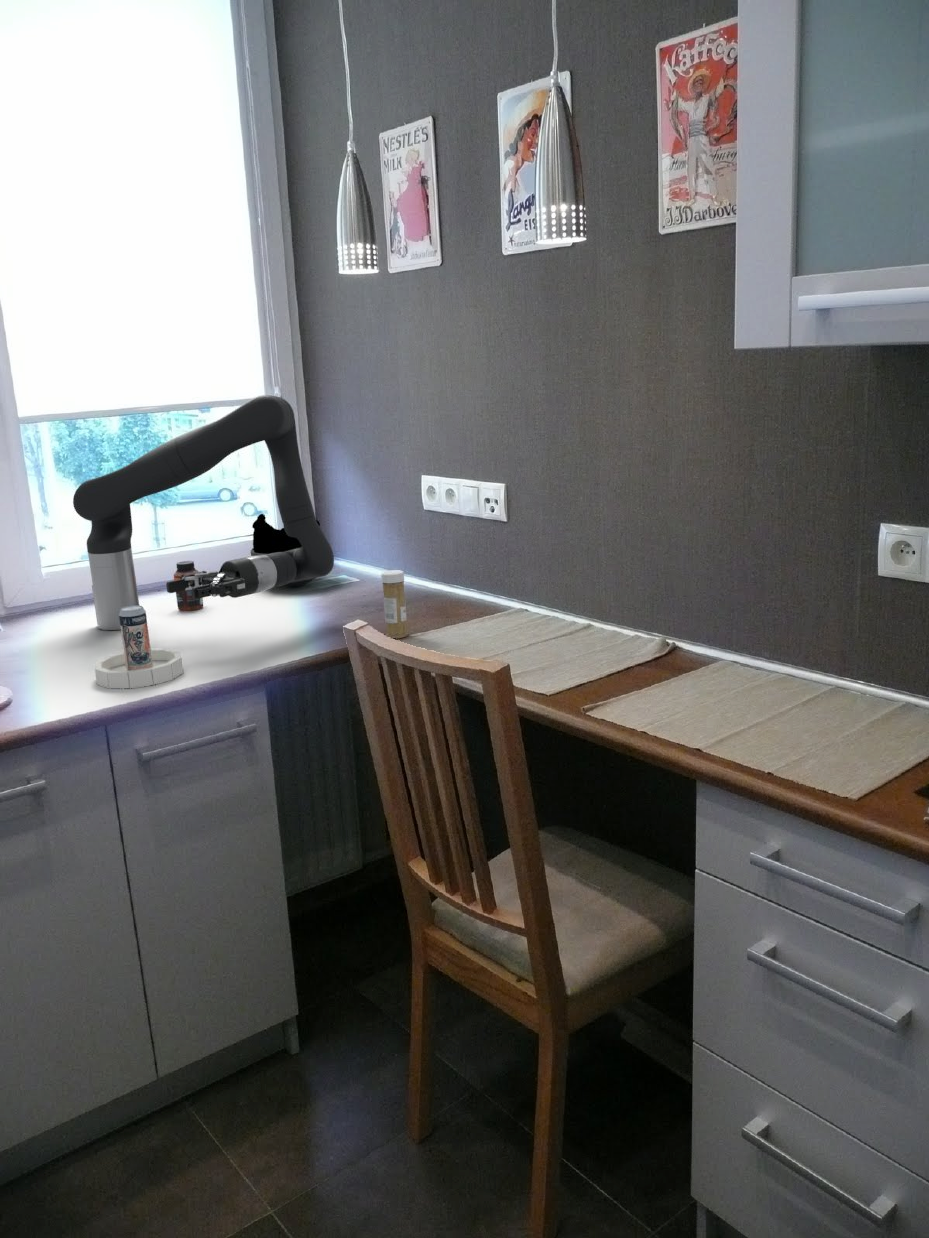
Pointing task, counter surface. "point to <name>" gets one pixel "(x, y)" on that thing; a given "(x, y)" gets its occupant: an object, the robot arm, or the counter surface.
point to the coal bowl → (274, 542)
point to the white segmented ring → (117, 676)
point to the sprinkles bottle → (394, 603)
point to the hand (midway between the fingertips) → (180, 590)
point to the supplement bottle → (185, 596)
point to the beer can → (135, 638)
